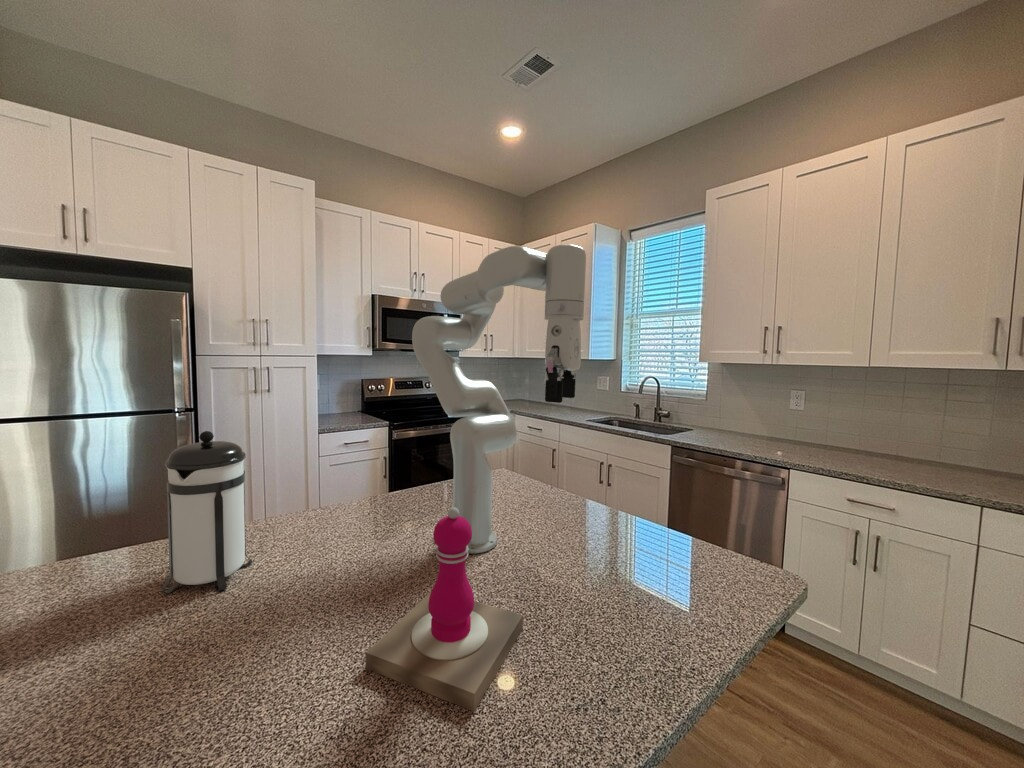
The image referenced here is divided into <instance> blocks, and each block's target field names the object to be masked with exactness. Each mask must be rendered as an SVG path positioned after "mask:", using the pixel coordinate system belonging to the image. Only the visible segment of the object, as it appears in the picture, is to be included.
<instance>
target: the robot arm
mask: <svg viewBox="0 0 1024 768" xmlns="http://www.w3.org/2000/svg"><path fill="white" fill-rule="evenodd" d="M586 253H587V252H586V251H585V249H584V248H583V247H581V246H578V245H575V244H558V245H555V246H551V248H549V249H548V251H547V252H542V251H539V250H535V249H532V248H529V247H525V246H520V245H511V246H507V247H504V248H501V249H499V250H496V251H494V252H492V253H490V254H488V255H486V256H485V257H484V258H483V260H481V263H480V264H479V266H478V269H477V270H475V271H473V272H471V273H467V274H465V275H463V276H460V277H458V278H455V279H452V280H451V281H449V282H447V283H446V284H445V285H444V286H443V287H442V288H441V292H440V301H441V303H442V305H443V307H444V308H445V309H446V310H448V311H449V312H450V313H454V314H457V315H463V317H462V318H461V317H451V316H441V315H431V316H425V317H421V318H419V319H418V320H417V321H415V324H414V326H413V328H412V331H411V333H412V335H411V336H412V337H411V340H412V341H411V342H412V347H413V352H414V355H415V356H416V359H417V360H418V362H419V363H420V366H421V367H422V368H423V369H424V372H425V373H426V374H427V376H428V379H429V380H430V382H431V383H430V384H431V385H432V387H433V390H434V392H435V394H436V397H437V398H438V401H439V403H440V405H441V407H442V409H443V411H444V412H445V414H446V415H447V416H449V417H451V418H460V419H457V420H456V421H455V422H454V423H453V424H452V426H451V428H450V432H449V433H450V434H449V438H450V439H449V440H450V445H451V453H452V459H453V463H452V464H453V487H452V488H453V492H452V493H453V494H452V495H453V497H452V504H453V505H452V507H455V508H457V509H458V510H459V515H458V516H461V517H463V518H465V519H466V520H467V521H468V522H469V523H470V525H471V529H472V538H471V541H470V542H469V544H468V545H467V546H468V548H469V550H468V555H469V554H472V555H473V554H481V553H486V552H488V551H491V550H492V549H494V548H495V546H496V545H497V543H498V537H497V535H496V533H495V532H493V531H492V515H493V514H492V510H493V509H492V508H493V469H492V466H491V464H490V462H489V460H488V458H487V454H490V453H494V452H498V451H502V450H506V449H509V448H511V447H512V446H513V445H514V444H515V442H516V439H517V426H516V423H515V421H514V418H513V416H512V414H511V412H510V410H509V408H508V407H507V405H506V403H505V401H504V398H503V396H502V395H501V394H500V391H499V390H498V388H497V387H496V386H495V385H494V384H493V383H492V382H491V381H489V380H486V379H481V378H480V379H478V378H477V379H470V378H468V377H466V375H465V374H464V372H463V370H462V368H461V366H460V364H459V363H458V362H457V360H456V359H455V358H454V357H453V356H452V355H451V354H449V353H448V352H447V351H446V350H468V349H471V348H473V346H474V345H476V343H477V342H478V341H479V339H480V337H481V335H482V333H483V332H484V330H485V328H486V326H487V325H488V323H489V322H490V319H491V317H492V315H493V313H494V312H495V310H496V305H497V304H498V303H499V302H501V300H502V298H503V296H504V292H505V287H509V286H515V287H521V288H526V289H531V290H535V291H542V292H544V291H545V296H544V297H545V299H544V320H546V321H547V327H546V336H545V337H546V339H545V357H544V358H545V359H544V362H545V389H544V390H545V391H544V401H545V402H547V403H556V404H557V403H559V404H560V403H563V399H565V398H568V399H574V398H575V397H576V380H577V379H576V377H577V376H576V371H578V370H580V368H581V366H582V336H581V335H582V334H581V333H582V332H581V323H580V322H581V321H584V315H585V313H584V309H585V292H586V291H585V289H586V287H585V286H586V271H587V270H586V267H587V254H586Z"/></svg>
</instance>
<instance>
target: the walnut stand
mask: <svg viewBox="0 0 1024 768" xmlns="http://www.w3.org/2000/svg"><path fill="white" fill-rule="evenodd" d="M430 594H431V591H430V592H429V593H427V594H426V596H425V597H423V599H421V601H419V602H418V603H417V604H416V605H415V606H414V607H413V608H412V609H411V610H410V611H408V613H406V614H405V615H404V617H402V618H401V619H400V620H399V621H398V622H397V623H396V624H395V625H394V626H393V627H391V628H390V630H388V631H387V632H386V633H385V634H384V635H382V637H380V639H379V640H377V641H376V643H374V644H373V645H372V646H371V647H370V648H369V649H368V650H367V651H366V652H365V670H368V671H371V672H374V673H376V674H378V675H381V676H383V677H386V678H389V679H391V680H394V681H395V682H399V683H401V684H403V685H407V686H409V687H411V688H414V689H416V690H418V691H421V692H423V693H426V694H429V695H431V696H433V697H436V698H439V699H441V700H444V701H447V702H450V703H451V704H454V705H457V706H459V707H461V708H464V709H467V710H469V711H471V712H475V711H476V710H477V707H478V706H479V705H480V702H481V701H482V699H483V697H484V696H485V694H486V693H487V690H488V689H489V688H490V685H491V684H492V682H493V680H494V678H495V677H496V675H497V674H498V672H499V671H500V668H501V666H502V665H503V663H504V661H505V660H506V657H508V654H509V653H510V651H511V649H512V648H513V646H514V644H515V643H516V642H517V640H518V638H519V636H520V634H521V633H522V630H523V626H524V614H521V613H518V612H513V611H510V610H506V609H503V608H499V607H496V606H492V605H489V604H485V603H482V602H479V601H476V600H474V608H473V611H472V612H471V614H470V617H471V628H470V632H469V633H468V635H467V636H466V637H465V638H463V639H461V640H459V641H456V642H442V641H439V640H437V639H436V638H434V636H433V635H432V633H431V619H432V616H431V614H430V612H429V609H428V604H429V597H430Z"/></svg>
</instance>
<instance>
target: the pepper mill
mask: <svg viewBox="0 0 1024 768" xmlns="http://www.w3.org/2000/svg"><path fill="white" fill-rule="evenodd" d="M458 515H459V510H458V509H457V508H455V507H453V506H452V507H450V508H449V509H448V510H447V516H444V517H441V519H440V520H438V522H437V523H436V524H435V526H434V530H433V535H432V536H433V541H434V543H435V545H436V546H437V547H436V553H435V554H436V555H435V556H436V559H437V560H438V561H439V562H438V565H439V567H438V573H437V577H436V581H435V583H434V585H433V588H432V589H431V591H430V592H431V594H430V597H429V604H428V609H429V612H430V614H431V616H432V619H431V633H432V635H433V636H434V638H436V639H437V640H439V641H442V642H456V641H459V640H461V639H463V638H465V637H466V636H467V635H468V633H469V632H470V628H471V617H470V614H471V612H472V611H473V608H474V601H475V597H474V592H473V588H472V586H471V583H470V581H469V579H468V575H467V573H466V560H467V559H468V558H469V554H468V550H469V548H468V546H467V545H468V544H469V542H470V541H471V538H472V529H471V525H470V523H469V522H468V521H467V520H466V519H465V518H463V517H461V516H458Z"/></svg>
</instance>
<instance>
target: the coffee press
mask: <svg viewBox="0 0 1024 768" xmlns="http://www.w3.org/2000/svg"><path fill="white" fill-rule="evenodd" d="M214 437H215V435H214V433H213V432H212V431H209V430H204V431H203V432H201V433H200V435H199V439H200V441H201V442H193V443H190V444H185V445H181V446H180V447H177V448H176V449H174V450H172V451H171V452H170V453H169V455H168V458H167V459H166V460H164V466H165V468H166V469H167V477H168V478H167V479H166V491H167V497H166V498H167V525H168V526H167V531H168V535H167V536H168V561H169V562H168V563H169V564H168V565H169V570H168V571H169V575H168V577H167V579H166V581H165V582H164V584H163V585H162V587H161V590H162V592H163V593H164V594H166V595H167V594H171V593H172V592H173V591H174V590H175V589H176V588H177V587H178V586H179V585H188V586H196V585H204V584H208V583H212V582H213V584H214V586H215V589H216V590H215V591H216V592H217V593H219V592H222V591H225V590H226V589H227V588H228V587H227V586H228V585H227V580H226V578H227V577H229V576H231V575H233V574H234V573H235V572H237V571H238V570H239V569H240V568H241V567H242V566H244V567H246V568H247V567H249V566H250V567H251V565H252V563H253V560H252V559H251V558H250V557H249V556H248V555H247V549H246V513H245V512H246V511H245V510H246V508H245V507H246V504H245V503H246V502H245V499H246V495H245V481H246V473H245V472H246V471H245V469H244V465H245V464H244V462H245V459H246V456H247V455H246V452H244V451H243V449H242V447H241V446H240V445H238V444H236V443H234V442H231V441H224V440H223V441H220V440H215V441H214V440H213V439H214ZM245 557H246V558H248V561H247V563H244V562H245V559H246V558H245ZM172 580H173V581H175V582H174V583H173V584H172V586H171V587H169V589H167V590H166V588H168V585H169V584H170V583H171V581H172Z"/></svg>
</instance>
